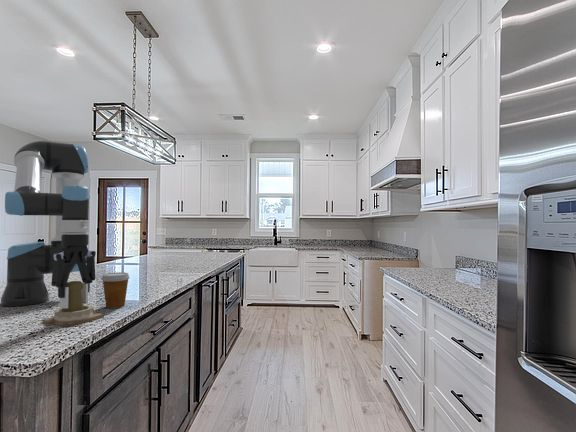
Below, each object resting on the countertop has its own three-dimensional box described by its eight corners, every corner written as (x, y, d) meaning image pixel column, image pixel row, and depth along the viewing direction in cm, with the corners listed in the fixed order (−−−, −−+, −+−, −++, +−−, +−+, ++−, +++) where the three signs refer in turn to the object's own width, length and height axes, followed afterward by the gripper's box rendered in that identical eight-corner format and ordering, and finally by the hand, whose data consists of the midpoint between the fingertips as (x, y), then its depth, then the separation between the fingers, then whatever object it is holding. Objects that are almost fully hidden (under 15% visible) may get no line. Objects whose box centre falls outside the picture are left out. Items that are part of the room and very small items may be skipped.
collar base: (42, 322, 109) (42, 311, 109) (77, 313, 120) (77, 303, 120) (69, 326, 104) (69, 315, 104) (103, 316, 116) (104, 306, 116)
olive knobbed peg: (88, 313, 115) (88, 279, 115) (75, 318, 109) (75, 283, 109) (71, 313, 115) (71, 279, 115) (57, 318, 109) (57, 282, 109)
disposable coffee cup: (100, 310, 125) (101, 276, 125) (101, 304, 133) (101, 273, 133) (130, 307, 129) (130, 274, 129) (128, 302, 137) (128, 271, 138)
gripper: (54, 234, 102) (53, 313, 102) (108, 233, 120) (107, 300, 120) (36, 234, 105) (35, 311, 105) (92, 232, 123) (91, 298, 123)
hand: (74, 305), depth 112 cm, fingers open, 6 cm apart
